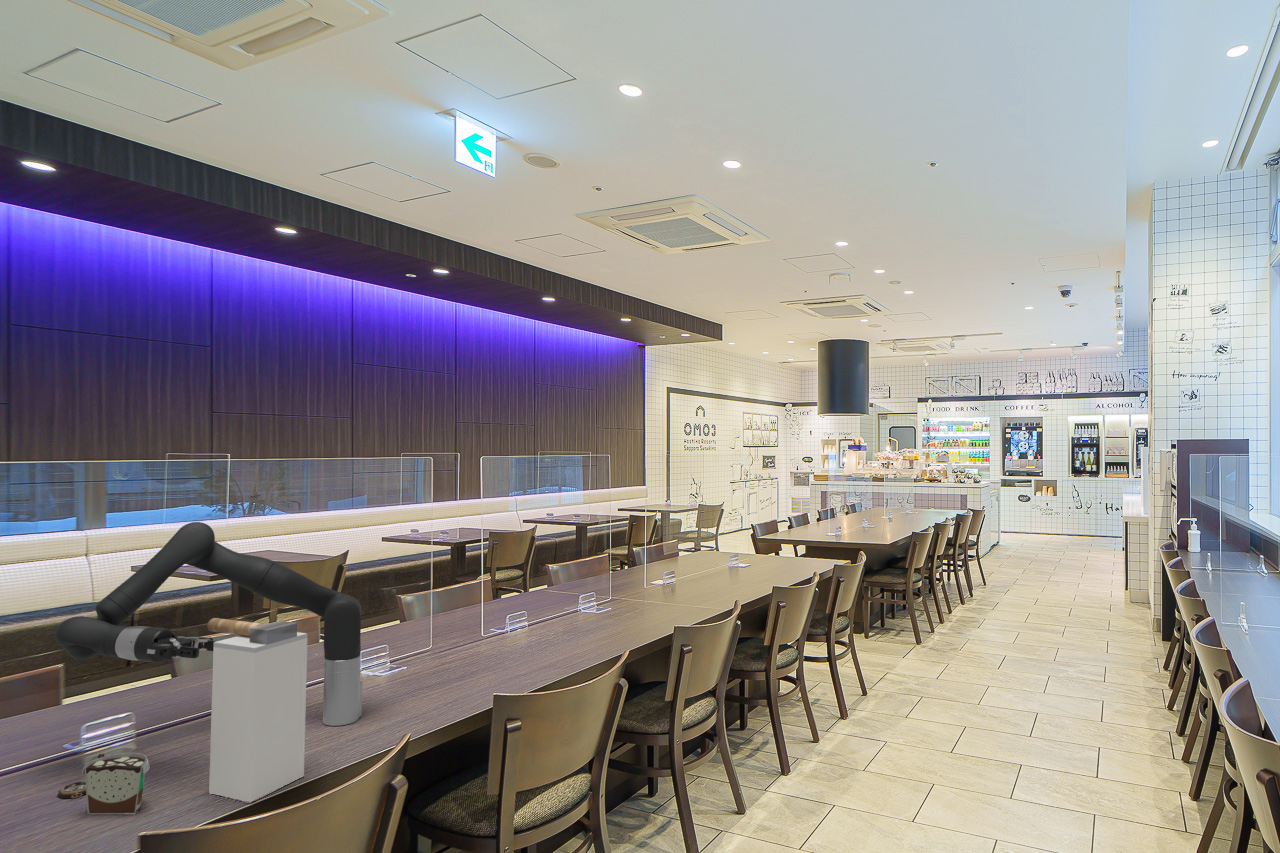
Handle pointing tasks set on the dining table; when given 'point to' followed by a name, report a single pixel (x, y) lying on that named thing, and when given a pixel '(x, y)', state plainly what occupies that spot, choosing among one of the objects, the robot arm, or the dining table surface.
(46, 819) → the dining table surface
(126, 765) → the food container
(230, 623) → the mallet
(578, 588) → the dining table surface
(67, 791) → the compass
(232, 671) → the stand
